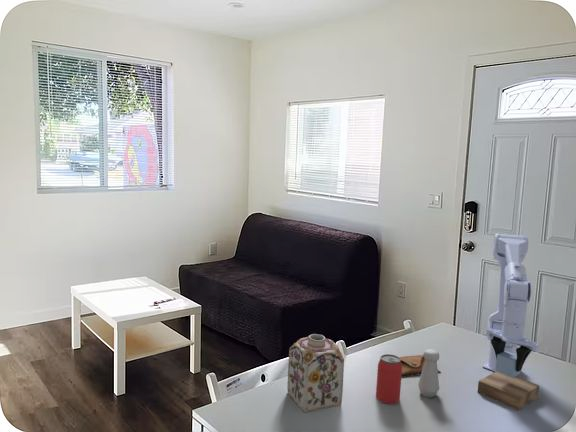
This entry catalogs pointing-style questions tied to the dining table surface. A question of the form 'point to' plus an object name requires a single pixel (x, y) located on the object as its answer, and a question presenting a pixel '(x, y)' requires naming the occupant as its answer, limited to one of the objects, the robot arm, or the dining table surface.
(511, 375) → the blue cube
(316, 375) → the decorative jar
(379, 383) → the beer can
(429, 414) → the dining table surface
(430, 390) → the salt shaker
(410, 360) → the sunglasses case
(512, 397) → the wooden block
